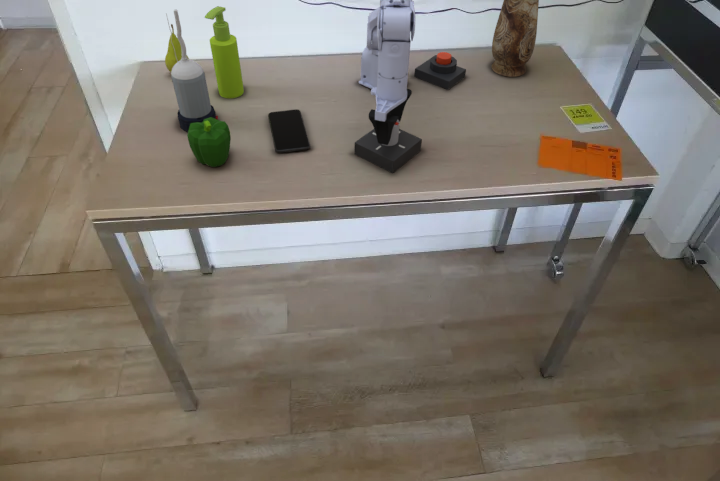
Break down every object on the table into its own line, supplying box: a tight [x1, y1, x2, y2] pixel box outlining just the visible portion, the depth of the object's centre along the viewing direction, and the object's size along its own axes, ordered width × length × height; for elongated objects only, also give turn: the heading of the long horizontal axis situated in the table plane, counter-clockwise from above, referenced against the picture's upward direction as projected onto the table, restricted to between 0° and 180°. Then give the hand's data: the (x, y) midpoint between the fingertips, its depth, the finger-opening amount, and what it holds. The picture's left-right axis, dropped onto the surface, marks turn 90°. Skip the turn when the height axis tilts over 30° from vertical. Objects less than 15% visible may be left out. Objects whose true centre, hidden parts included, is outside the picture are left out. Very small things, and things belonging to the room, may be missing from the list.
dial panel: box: [353, 128, 423, 174], centre depth 117 cm, size 10×10×3 cm
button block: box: [413, 54, 467, 90], centre depth 140 cm, size 10×8×4 cm
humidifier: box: [165, 9, 219, 133], centre depth 116 cm, size 8×8×25 cm
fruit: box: [164, 23, 190, 73], centre depth 135 cm, size 6×6×12 cm
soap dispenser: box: [204, 5, 245, 99], centre depth 127 cm, size 6×7×20 cm
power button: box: [436, 51, 453, 65], centre depth 138 cm, size 4×4×2 cm
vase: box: [491, 0, 540, 78], centre depth 134 cm, size 10×11×30 cm
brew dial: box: [382, 120, 401, 146], centre depth 114 cm, size 4×4×5 cm
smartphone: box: [267, 109, 311, 154], centre depth 122 cm, size 7×1×15 cm
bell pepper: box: [186, 117, 232, 168], centre depth 112 cm, size 8×8×10 cm
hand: (388, 133), depth 115 cm, fingers open, 7 cm apart
